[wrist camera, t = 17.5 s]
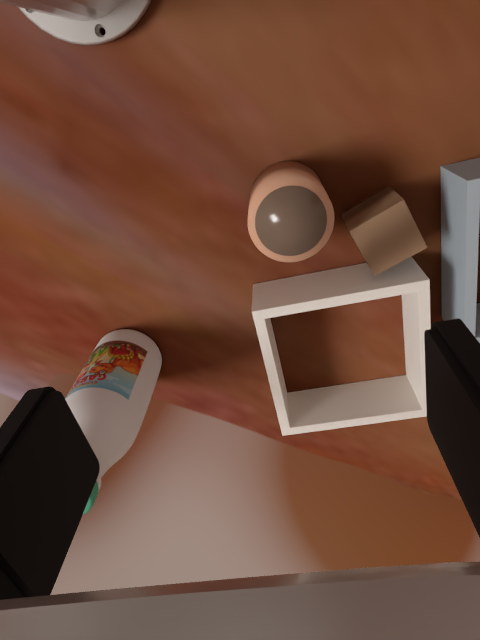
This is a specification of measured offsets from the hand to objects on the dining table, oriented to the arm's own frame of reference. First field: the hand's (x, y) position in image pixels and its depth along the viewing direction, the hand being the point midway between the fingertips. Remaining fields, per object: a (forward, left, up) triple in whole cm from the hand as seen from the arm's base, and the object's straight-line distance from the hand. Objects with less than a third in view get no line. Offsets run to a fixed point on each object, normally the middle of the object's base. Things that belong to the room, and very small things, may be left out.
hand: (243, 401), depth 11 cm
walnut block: (+8, +10, -33) cm, 36 cm away
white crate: (+20, +5, -33) cm, 39 cm away
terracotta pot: (+4, +2, -33) cm, 34 cm away
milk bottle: (+18, -19, -34) cm, 43 cm away
